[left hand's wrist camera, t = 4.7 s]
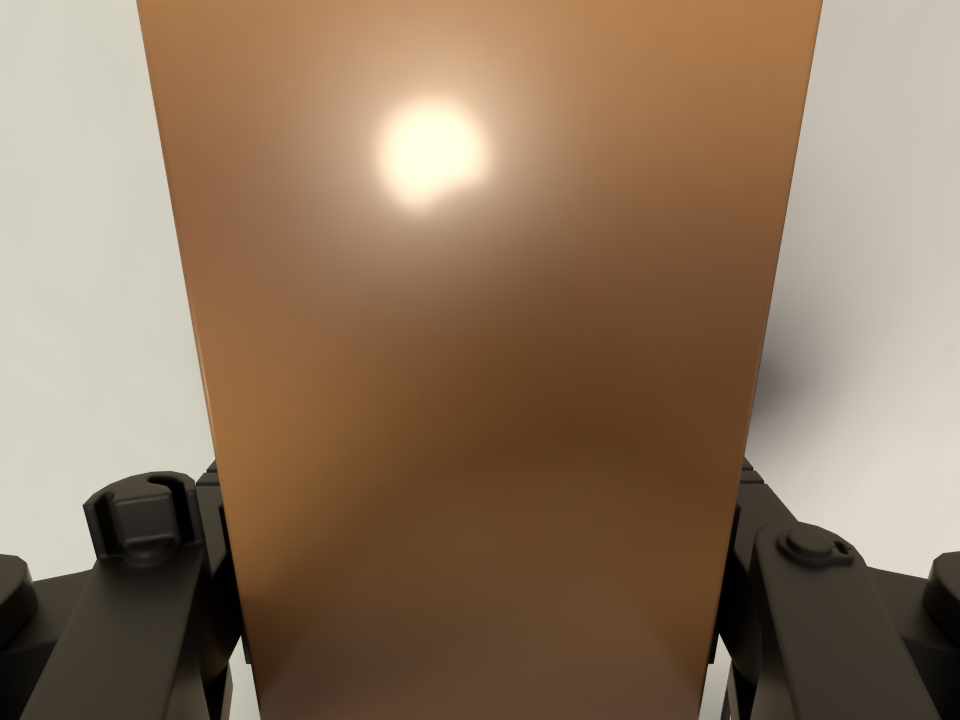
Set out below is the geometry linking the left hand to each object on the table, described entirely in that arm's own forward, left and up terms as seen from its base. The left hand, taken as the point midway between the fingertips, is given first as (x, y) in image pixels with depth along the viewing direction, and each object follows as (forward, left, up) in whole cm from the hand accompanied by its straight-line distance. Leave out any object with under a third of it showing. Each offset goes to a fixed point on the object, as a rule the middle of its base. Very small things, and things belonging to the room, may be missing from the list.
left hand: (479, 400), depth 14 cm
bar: (+23, -5, -1) cm, 23 cm away
